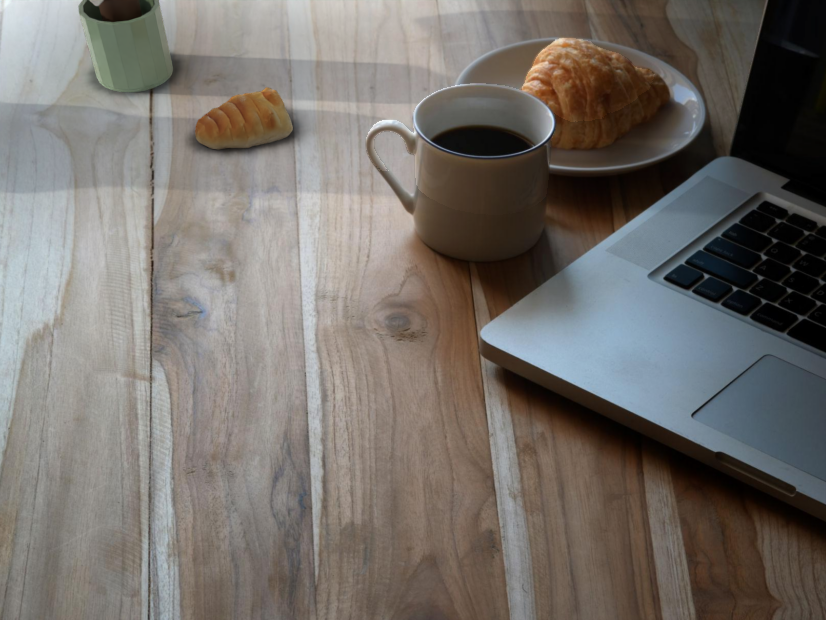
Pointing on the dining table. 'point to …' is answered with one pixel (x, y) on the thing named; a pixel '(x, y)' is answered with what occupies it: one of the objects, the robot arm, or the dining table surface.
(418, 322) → the dining table surface
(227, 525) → the dining table surface
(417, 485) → the dining table surface
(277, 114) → the pastry
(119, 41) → the canister
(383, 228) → the dining table surface
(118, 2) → the tube
